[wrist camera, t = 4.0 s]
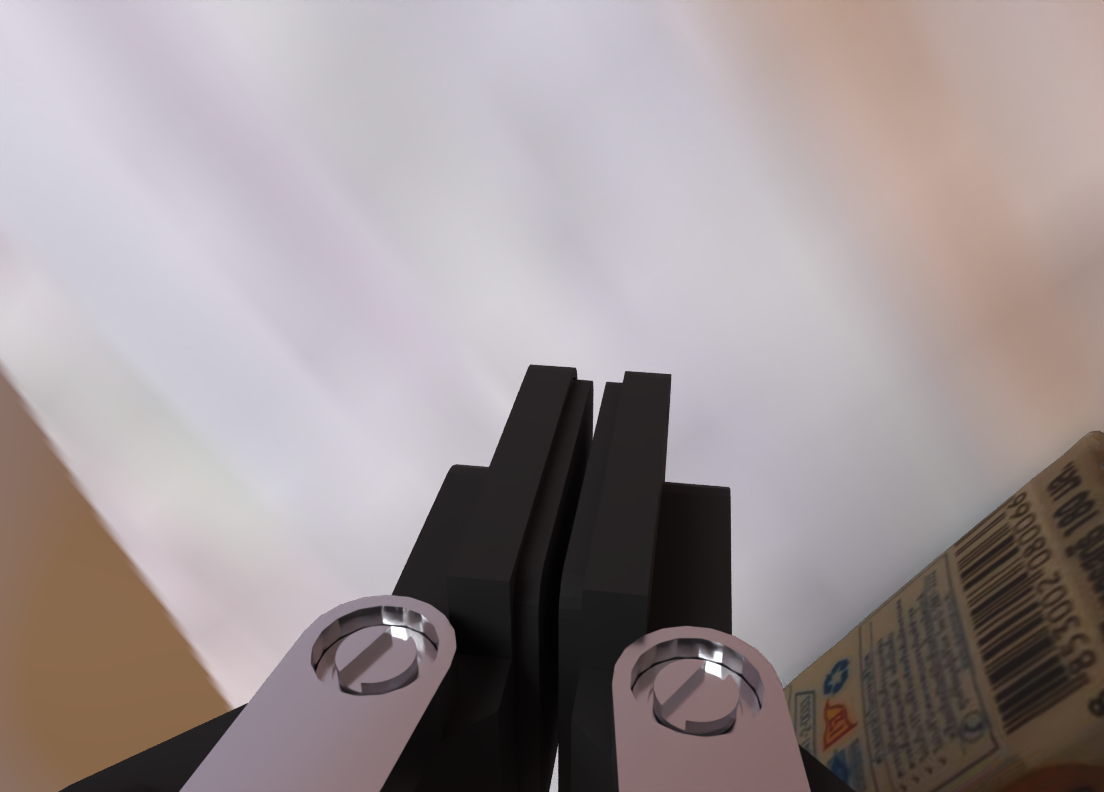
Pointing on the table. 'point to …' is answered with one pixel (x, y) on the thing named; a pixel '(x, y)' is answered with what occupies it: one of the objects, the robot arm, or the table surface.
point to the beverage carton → (979, 656)
